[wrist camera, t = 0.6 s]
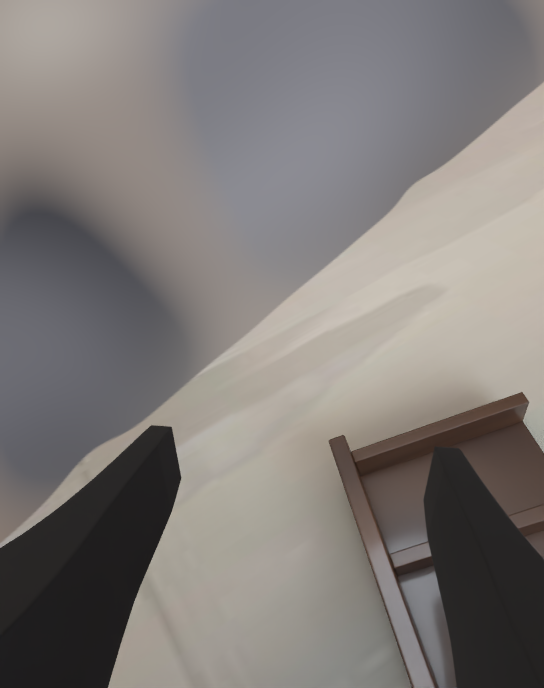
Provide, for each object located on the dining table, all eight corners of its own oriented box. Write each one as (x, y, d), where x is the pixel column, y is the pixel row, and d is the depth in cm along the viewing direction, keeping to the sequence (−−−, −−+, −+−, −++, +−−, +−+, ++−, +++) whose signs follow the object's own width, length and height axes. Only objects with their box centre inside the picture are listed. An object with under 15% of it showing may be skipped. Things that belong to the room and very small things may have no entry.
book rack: (779, 825, 17) (909, 887, 12) (491, 895, 18) (510, 976, 13) (514, 418, 28) (529, 368, 23) (345, 476, 29) (327, 439, 24)
